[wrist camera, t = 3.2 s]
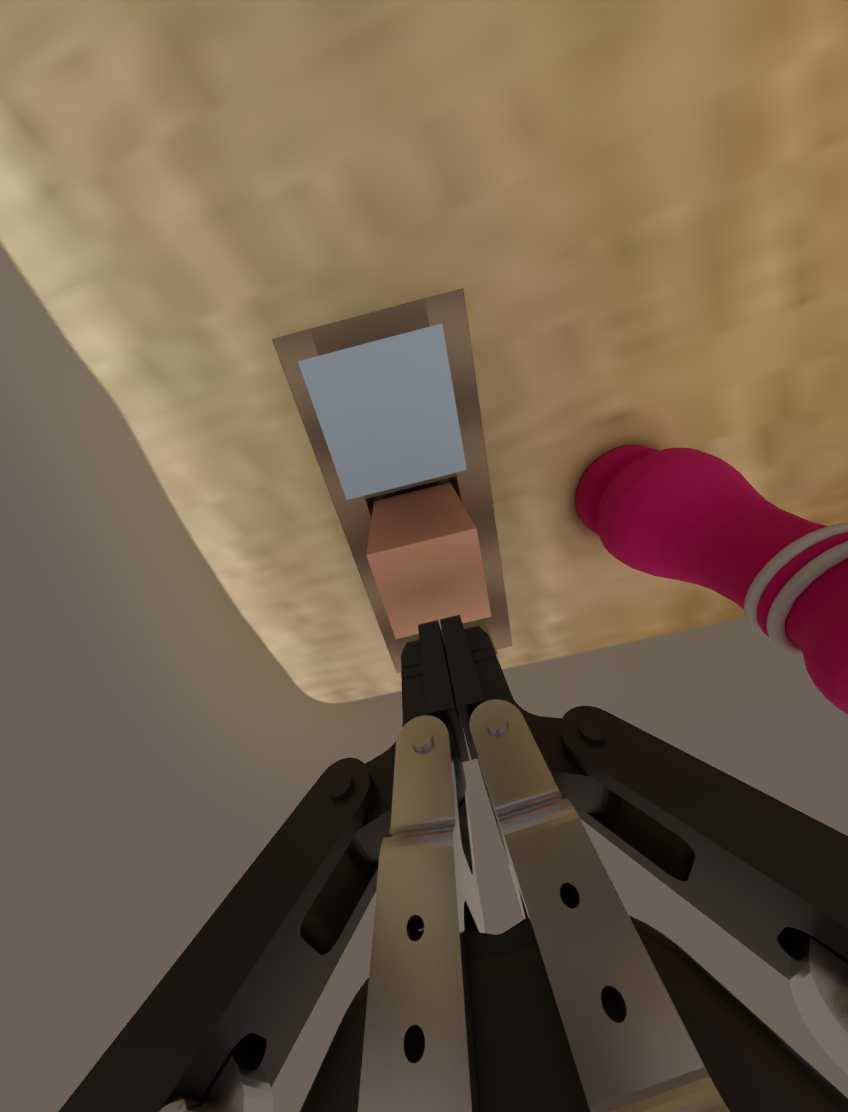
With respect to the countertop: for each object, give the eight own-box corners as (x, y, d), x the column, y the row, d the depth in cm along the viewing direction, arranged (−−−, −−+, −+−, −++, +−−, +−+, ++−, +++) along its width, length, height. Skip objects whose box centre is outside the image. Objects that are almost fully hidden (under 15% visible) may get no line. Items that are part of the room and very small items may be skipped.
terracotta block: (374, 501, 20) (366, 555, 14) (450, 482, 20) (476, 528, 14) (394, 566, 22) (395, 639, 16) (463, 549, 22) (491, 616, 16)
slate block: (332, 368, 17) (297, 361, 10) (423, 345, 16) (442, 323, 10) (361, 460, 19) (346, 499, 13) (441, 440, 19) (466, 470, 12)
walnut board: (289, 345, 18) (272, 339, 15) (452, 302, 18) (463, 288, 15) (396, 645, 28) (396, 672, 26) (500, 620, 28) (512, 645, 25)
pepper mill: (682, 499, 24) (1451, 812, 7) (591, 555, 26) (1021, 930, 8) (651, 412, 21) (1898, 564, 4) (550, 481, 23) (1089, 822, 5)
